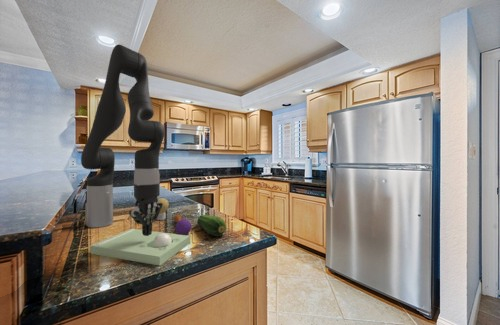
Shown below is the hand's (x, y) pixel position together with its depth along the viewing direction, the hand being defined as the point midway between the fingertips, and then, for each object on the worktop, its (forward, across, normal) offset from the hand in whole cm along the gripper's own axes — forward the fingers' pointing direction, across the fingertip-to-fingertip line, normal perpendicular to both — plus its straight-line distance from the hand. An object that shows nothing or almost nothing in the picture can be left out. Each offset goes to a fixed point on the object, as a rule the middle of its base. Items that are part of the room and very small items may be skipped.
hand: (147, 234), depth 71 cm
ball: (+2, 0, +6) cm, 6 cm away
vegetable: (+5, -21, +12) cm, 25 cm away
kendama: (+5, -20, 0) cm, 21 cm away
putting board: (+4, 0, -2) cm, 5 cm away
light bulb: (+5, -28, -16) cm, 33 cm away
